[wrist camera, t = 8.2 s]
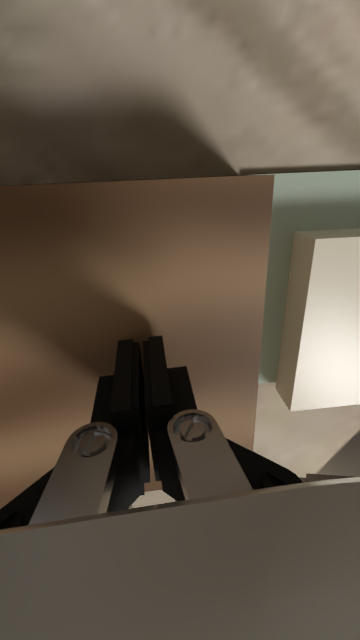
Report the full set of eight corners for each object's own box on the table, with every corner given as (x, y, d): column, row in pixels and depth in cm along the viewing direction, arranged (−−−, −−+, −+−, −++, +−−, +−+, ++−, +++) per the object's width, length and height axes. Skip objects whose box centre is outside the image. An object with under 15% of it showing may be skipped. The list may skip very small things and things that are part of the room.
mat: (244, 175, 14) (247, 174, 13) (394, 168, 14) (399, 168, 14) (236, 382, 18) (237, 385, 18) (349, 370, 19) (352, 373, 19)
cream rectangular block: (449, 231, 13) (413, 225, 15) (315, 238, 13) (294, 231, 15) (395, 400, 17) (371, 379, 19) (290, 411, 17) (275, 388, 18)
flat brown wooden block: (-77, 189, 13) (-165, 194, 9) (239, 175, 14) (274, 174, 10) (13, 446, 18) (-18, 512, 15) (230, 422, 20) (250, 478, 16)
